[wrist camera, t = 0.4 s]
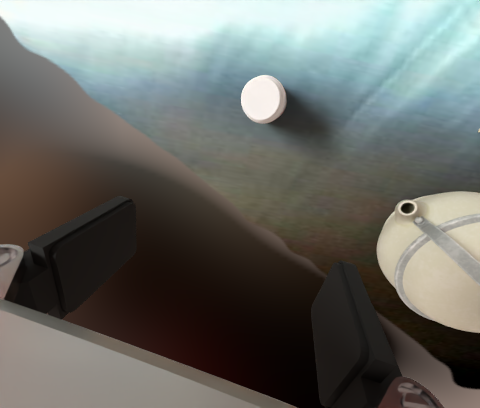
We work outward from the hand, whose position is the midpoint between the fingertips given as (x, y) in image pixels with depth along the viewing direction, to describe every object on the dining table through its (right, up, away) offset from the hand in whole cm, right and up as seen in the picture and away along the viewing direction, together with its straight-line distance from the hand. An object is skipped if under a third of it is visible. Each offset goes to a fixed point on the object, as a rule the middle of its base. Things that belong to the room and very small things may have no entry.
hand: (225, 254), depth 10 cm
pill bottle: (+5, +19, +24) cm, 31 cm away
